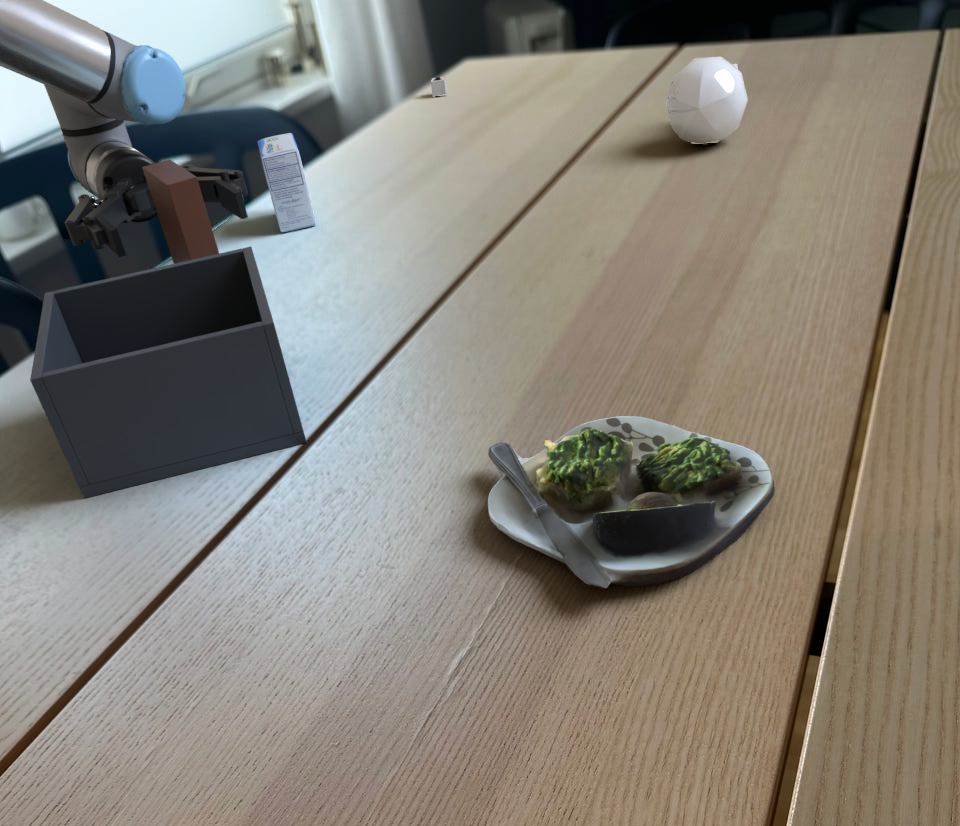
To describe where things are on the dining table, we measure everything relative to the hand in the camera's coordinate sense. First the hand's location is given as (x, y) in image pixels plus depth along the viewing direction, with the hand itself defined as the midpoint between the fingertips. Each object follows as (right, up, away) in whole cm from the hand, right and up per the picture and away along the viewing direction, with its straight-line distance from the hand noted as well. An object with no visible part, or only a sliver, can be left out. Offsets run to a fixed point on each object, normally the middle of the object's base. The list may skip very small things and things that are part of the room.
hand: (181, 224), depth 106 cm
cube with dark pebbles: (+25, +42, +53) cm, 72 cm away
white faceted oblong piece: (+60, +19, +20) cm, 66 cm away
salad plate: (+41, -35, -38) cm, 66 cm away
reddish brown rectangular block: (+2, -6, +3) cm, 7 cm away
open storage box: (+7, -25, -20) cm, 33 cm away
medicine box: (+9, +7, +16) cm, 20 cm away
